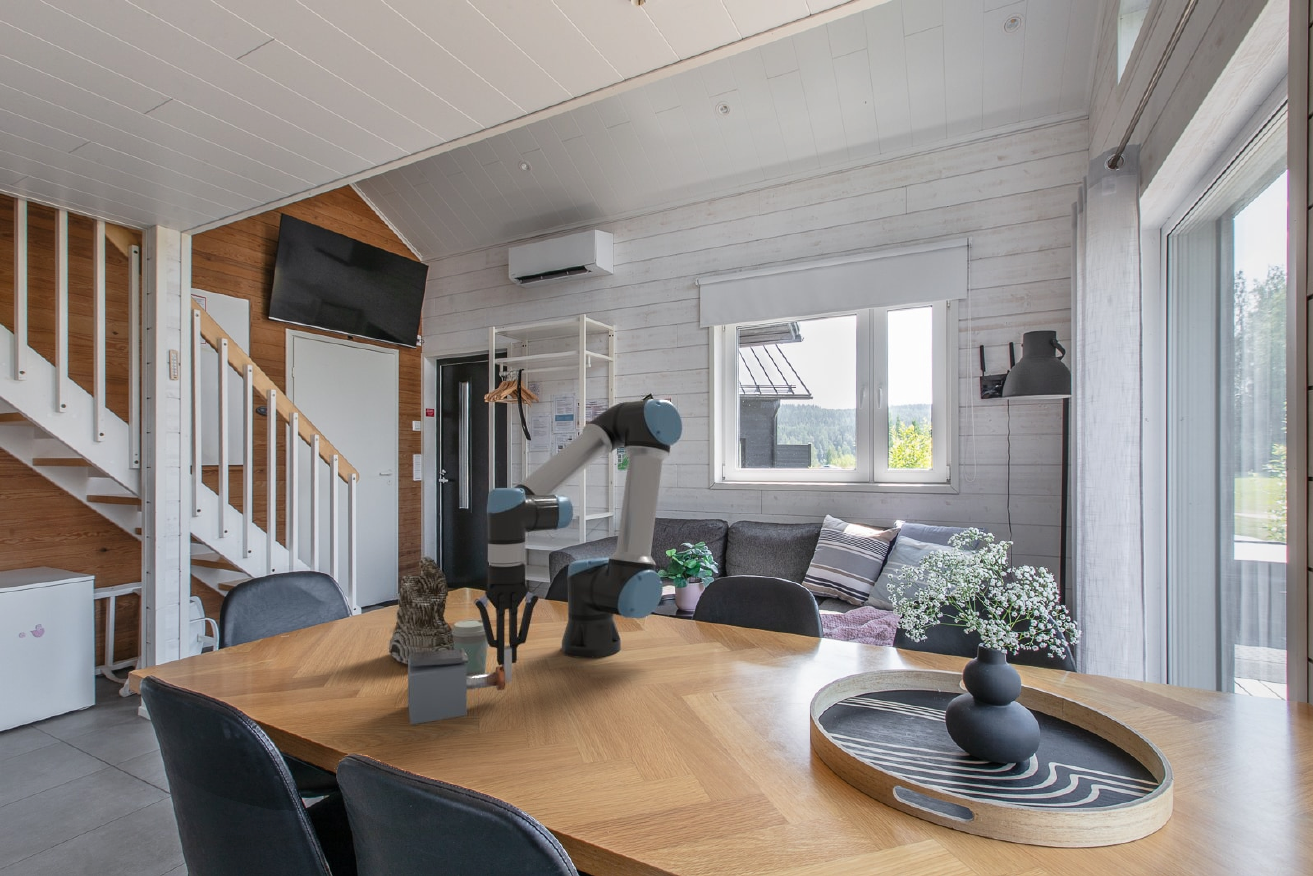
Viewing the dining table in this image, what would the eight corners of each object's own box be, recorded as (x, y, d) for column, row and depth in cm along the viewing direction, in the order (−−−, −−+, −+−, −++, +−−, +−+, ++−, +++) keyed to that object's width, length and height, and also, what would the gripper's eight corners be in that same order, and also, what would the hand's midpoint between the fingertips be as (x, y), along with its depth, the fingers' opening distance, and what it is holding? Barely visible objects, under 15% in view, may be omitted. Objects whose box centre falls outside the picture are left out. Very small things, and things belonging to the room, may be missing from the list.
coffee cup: (480, 684, 142) (479, 628, 142) (444, 681, 143) (444, 627, 144) (497, 671, 150) (497, 619, 150) (463, 669, 152) (463, 617, 152)
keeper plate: (464, 654, 132) (464, 648, 132) (468, 663, 126) (468, 656, 126) (408, 657, 128) (409, 651, 128) (410, 666, 122) (411, 660, 122)
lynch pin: (501, 685, 134) (501, 663, 134) (505, 692, 130) (505, 669, 130) (423, 697, 128) (423, 673, 128) (425, 705, 124) (425, 681, 124)
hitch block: (460, 698, 133) (460, 654, 133) (466, 715, 124) (466, 668, 124) (408, 706, 129) (408, 660, 129) (410, 724, 120) (410, 675, 120)
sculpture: (376, 658, 162) (376, 557, 163) (427, 645, 172) (427, 551, 173) (418, 674, 149) (418, 565, 150) (470, 660, 159) (470, 557, 160)
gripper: (533, 558, 139) (534, 670, 138) (471, 563, 134) (471, 678, 133) (542, 563, 132) (542, 680, 131) (476, 568, 127) (476, 690, 126)
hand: (506, 679), depth 132 cm, fingers closed
